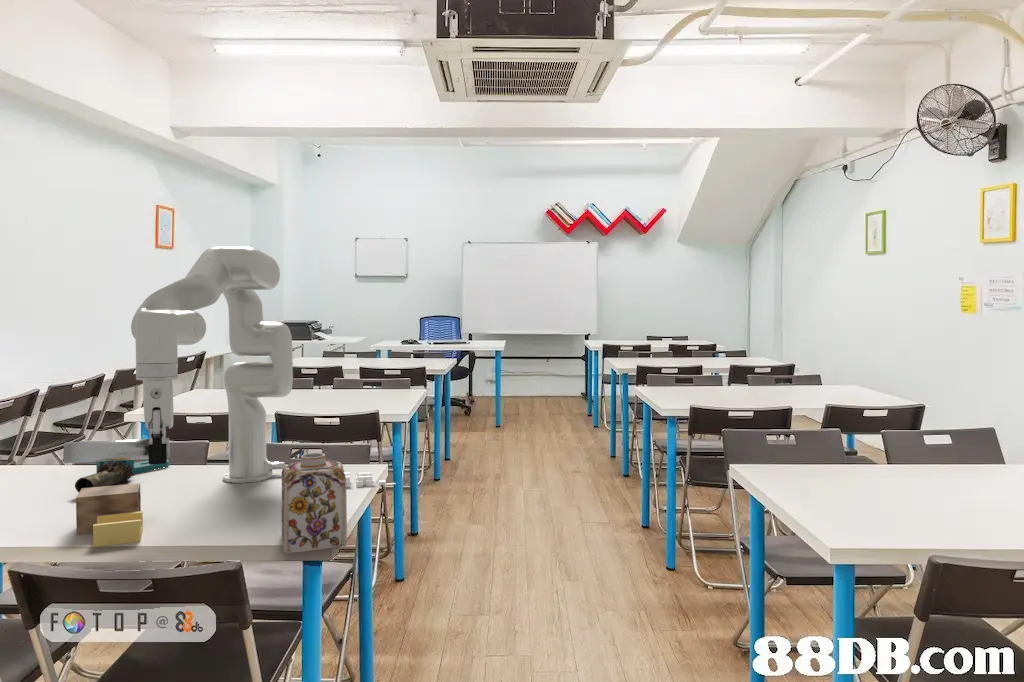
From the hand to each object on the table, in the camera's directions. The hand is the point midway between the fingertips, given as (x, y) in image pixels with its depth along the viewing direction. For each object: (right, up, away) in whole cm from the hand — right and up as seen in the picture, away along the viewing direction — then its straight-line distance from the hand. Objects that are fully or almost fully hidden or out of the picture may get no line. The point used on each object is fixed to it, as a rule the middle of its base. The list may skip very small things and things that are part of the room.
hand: (158, 460), depth 140 cm
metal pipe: (-32, -17, +31) cm, 48 cm away
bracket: (-35, -13, +55) cm, 66 cm away
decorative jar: (+33, -16, -4) cm, 37 cm away
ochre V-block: (-7, -16, -2) cm, 17 cm away
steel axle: (-6, +3, -3) cm, 7 cm away
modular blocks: (+33, -15, +40) cm, 54 cm away
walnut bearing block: (-13, -15, +6) cm, 21 cm away
